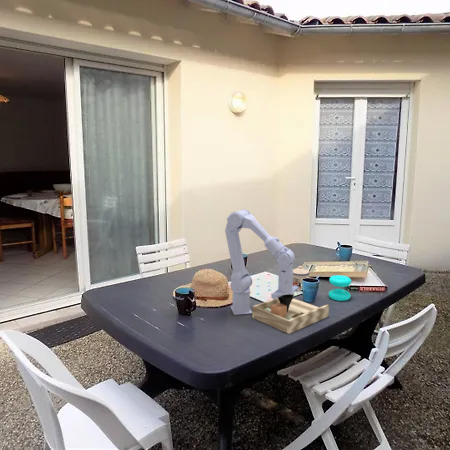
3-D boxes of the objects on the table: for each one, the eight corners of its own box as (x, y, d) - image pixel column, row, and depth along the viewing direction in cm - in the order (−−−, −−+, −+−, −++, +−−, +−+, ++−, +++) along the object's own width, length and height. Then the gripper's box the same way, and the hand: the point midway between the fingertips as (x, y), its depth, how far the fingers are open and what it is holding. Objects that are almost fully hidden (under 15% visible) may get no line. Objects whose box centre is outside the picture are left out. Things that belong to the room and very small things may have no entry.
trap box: (288, 333, 147) (289, 321, 147) (252, 317, 163) (252, 306, 162) (328, 316, 163) (329, 305, 162) (291, 303, 178) (292, 292, 177)
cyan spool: (347, 282, 176) (326, 278, 182) (346, 303, 178) (325, 298, 183) (354, 276, 184) (333, 273, 190) (353, 296, 186) (332, 292, 191)
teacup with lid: (287, 287, 199) (287, 265, 197) (299, 284, 204) (300, 262, 202) (304, 294, 189) (305, 271, 187) (317, 290, 195) (317, 268, 193)
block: (279, 319, 155) (279, 308, 154) (270, 315, 158) (270, 305, 157) (286, 316, 157) (286, 305, 157) (278, 312, 161) (278, 302, 160)
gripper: (280, 285, 150) (280, 319, 152) (304, 278, 159) (304, 309, 161) (267, 281, 155) (267, 313, 158) (291, 274, 164) (290, 305, 167)
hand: (285, 311), depth 160 cm, fingers closed
